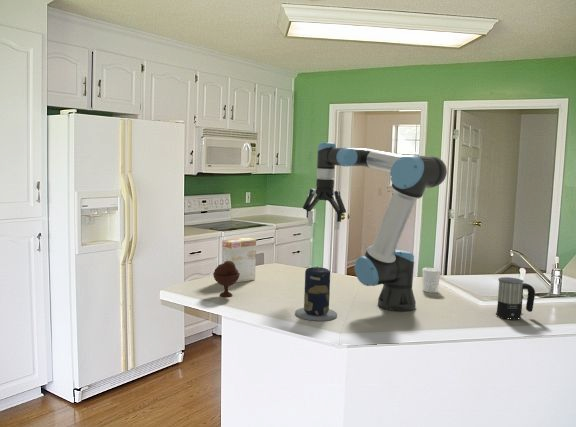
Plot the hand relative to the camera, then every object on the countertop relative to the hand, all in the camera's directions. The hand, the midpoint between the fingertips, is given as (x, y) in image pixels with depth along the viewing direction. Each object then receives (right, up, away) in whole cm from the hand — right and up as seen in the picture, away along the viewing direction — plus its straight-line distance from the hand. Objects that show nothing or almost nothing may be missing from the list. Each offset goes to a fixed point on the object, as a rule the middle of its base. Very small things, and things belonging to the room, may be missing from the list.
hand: (323, 227), depth 238 cm
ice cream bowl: (-41, -29, -8) cm, 51 cm away
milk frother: (+72, -34, -20) cm, 83 cm away
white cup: (+50, -30, +13) cm, 59 cm away
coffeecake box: (-39, -26, +19) cm, 50 cm away
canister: (-5, -32, -30) cm, 44 cm away
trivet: (-5, -32, -30) cm, 44 cm away
